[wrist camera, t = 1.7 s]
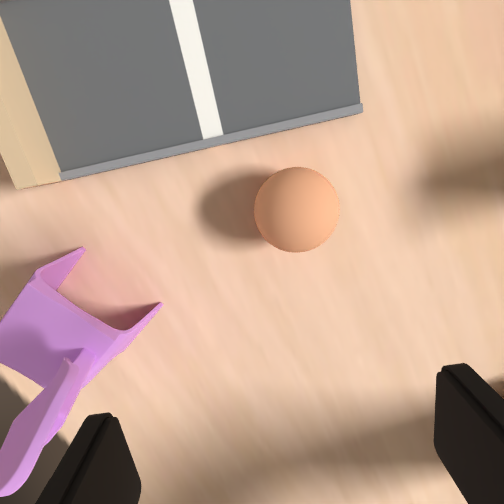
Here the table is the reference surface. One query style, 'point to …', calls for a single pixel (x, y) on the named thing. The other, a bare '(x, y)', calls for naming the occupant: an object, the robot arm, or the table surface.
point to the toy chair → (51, 362)
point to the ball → (296, 209)
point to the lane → (163, 78)
